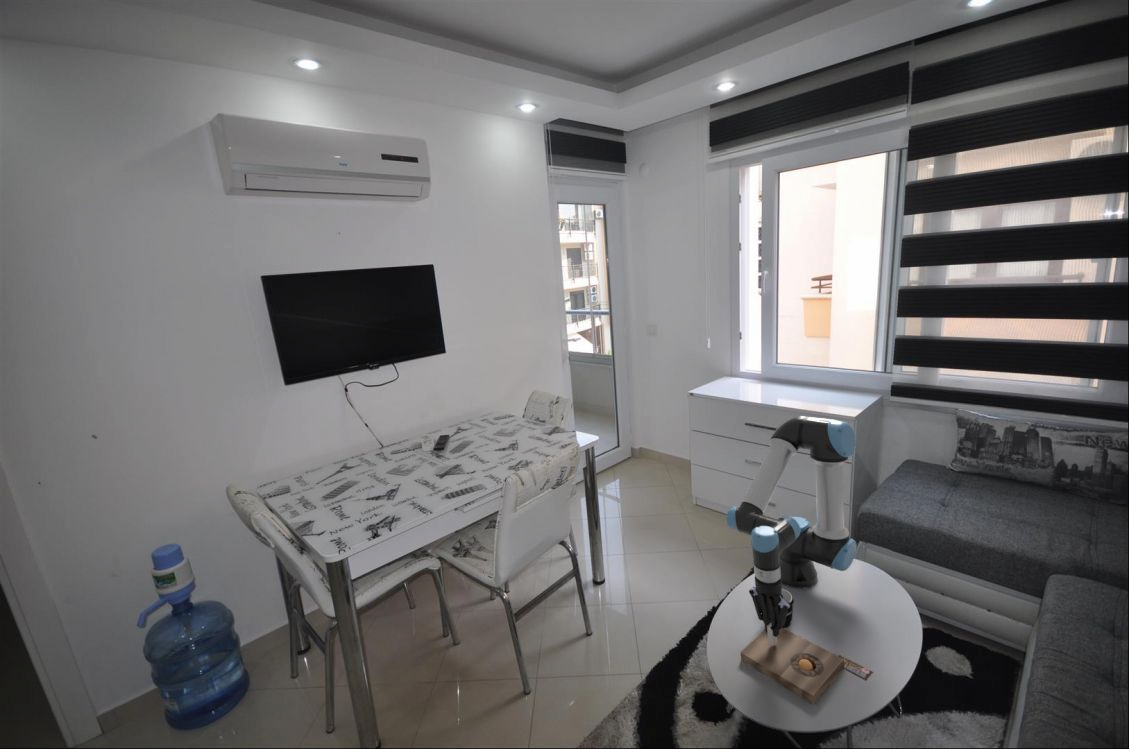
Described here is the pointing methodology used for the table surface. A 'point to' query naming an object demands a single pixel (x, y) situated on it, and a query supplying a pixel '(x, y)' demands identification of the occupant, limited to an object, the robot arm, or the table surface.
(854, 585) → the table surface
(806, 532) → the robot arm
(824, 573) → the table surface
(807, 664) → the ball
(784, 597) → the mug
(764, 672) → the wooden board
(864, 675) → the chocolate bar
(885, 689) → the table surface
